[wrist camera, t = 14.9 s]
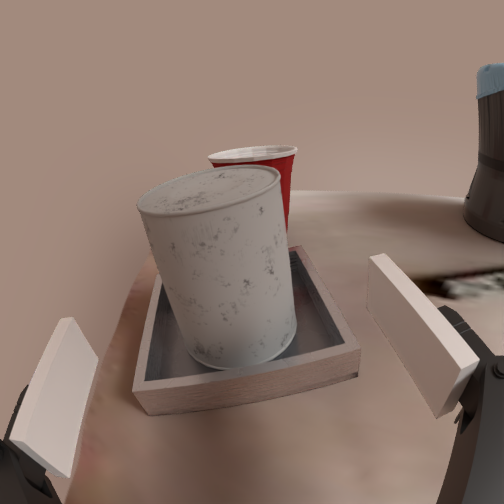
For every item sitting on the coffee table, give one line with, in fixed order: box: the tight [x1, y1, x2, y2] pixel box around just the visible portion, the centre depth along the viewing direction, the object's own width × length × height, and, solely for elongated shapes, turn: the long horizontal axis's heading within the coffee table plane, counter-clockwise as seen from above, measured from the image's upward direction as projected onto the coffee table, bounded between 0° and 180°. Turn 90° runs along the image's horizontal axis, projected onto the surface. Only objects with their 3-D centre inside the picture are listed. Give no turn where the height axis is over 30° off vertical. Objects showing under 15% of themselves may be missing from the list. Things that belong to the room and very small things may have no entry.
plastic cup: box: [208, 146, 298, 234], centre depth 39 cm, size 11×11×12 cm
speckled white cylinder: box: [137, 165, 297, 370], centre depth 23 cm, size 10×10×12 cm
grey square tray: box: [132, 246, 361, 416], centre depth 25 cm, size 15×15×3 cm
